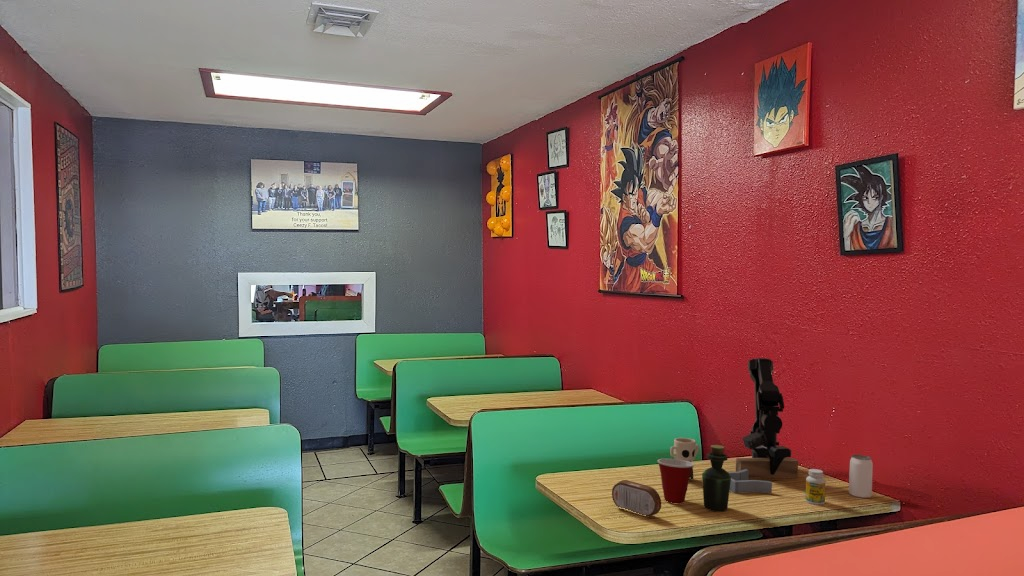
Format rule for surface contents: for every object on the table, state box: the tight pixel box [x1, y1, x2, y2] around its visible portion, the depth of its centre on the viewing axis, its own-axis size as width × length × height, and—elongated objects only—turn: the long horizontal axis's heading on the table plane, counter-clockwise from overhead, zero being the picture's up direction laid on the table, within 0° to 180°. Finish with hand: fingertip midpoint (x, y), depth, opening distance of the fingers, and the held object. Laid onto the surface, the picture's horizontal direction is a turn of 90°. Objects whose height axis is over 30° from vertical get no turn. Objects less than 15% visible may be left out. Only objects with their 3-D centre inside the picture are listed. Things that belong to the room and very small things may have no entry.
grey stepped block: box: [727, 469, 773, 494], centre depth 226 cm, size 12×15×4 cm
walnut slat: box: [735, 457, 799, 479], centre depth 239 cm, size 4×20×6 cm, turn 95°
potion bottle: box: [701, 444, 731, 513], centre depth 205 cm, size 8×8×18 cm
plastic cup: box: [657, 458, 695, 504], centre depth 211 cm, size 11×11×12 cm
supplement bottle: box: [805, 468, 826, 506], centre depth 213 cm, size 5×5×10 cm
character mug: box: [669, 437, 700, 481], centre depth 234 cm, size 11×7×13 cm, turn 111°
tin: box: [611, 479, 662, 518], centre depth 200 cm, size 15×3×8 cm, turn 48°
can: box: [848, 454, 874, 499], centre depth 221 cm, size 6×6×12 cm
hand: (766, 471), depth 239 cm, fingers open, 6 cm apart
